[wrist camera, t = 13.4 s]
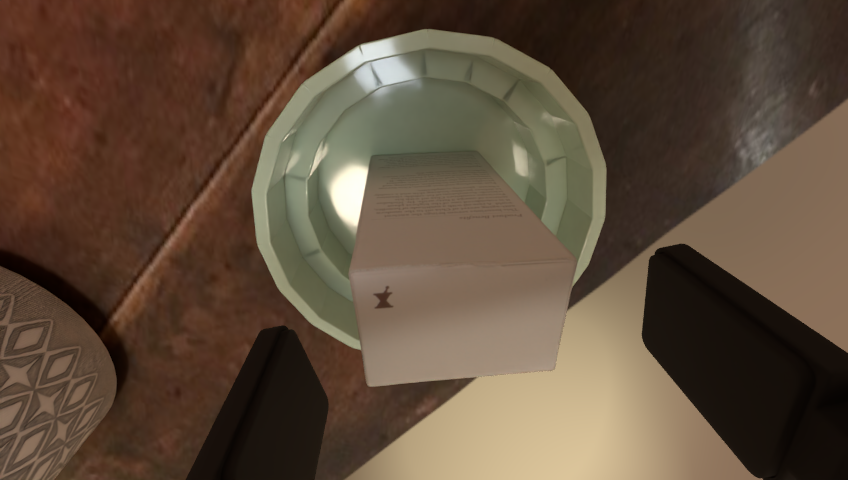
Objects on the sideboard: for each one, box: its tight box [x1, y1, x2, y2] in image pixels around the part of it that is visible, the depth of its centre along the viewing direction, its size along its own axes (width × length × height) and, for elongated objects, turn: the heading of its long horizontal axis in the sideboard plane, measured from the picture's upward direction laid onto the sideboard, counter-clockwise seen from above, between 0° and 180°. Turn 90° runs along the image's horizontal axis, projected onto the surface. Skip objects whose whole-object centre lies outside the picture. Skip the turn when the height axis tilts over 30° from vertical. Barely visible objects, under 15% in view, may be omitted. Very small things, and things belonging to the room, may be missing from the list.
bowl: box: [251, 29, 606, 350], centre depth 19 cm, size 15×15×6 cm
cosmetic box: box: [348, 151, 577, 387], centre depth 15 cm, size 6×4×12 cm
